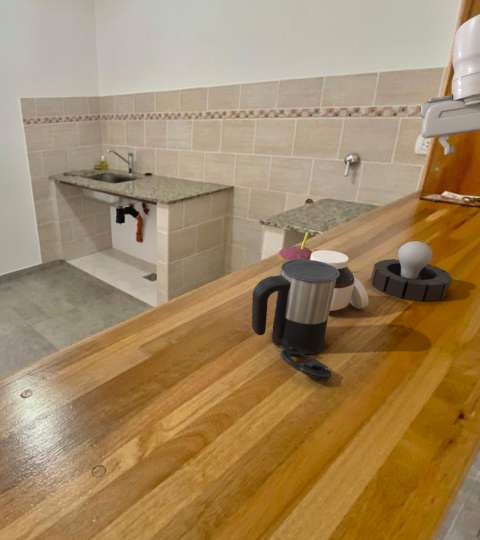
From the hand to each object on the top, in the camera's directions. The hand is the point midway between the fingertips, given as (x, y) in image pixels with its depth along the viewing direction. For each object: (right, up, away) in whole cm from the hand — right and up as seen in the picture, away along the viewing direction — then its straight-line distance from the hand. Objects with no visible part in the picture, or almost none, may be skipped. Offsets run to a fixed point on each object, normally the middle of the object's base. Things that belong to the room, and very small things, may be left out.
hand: (474, 151), depth 91 cm
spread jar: (-39, -36, -9) cm, 54 cm away
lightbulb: (-19, -33, -3) cm, 38 cm away
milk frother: (-52, -44, -23) cm, 72 cm away
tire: (-18, -32, -3) cm, 37 cm away
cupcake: (-40, -29, +7) cm, 50 cm away
